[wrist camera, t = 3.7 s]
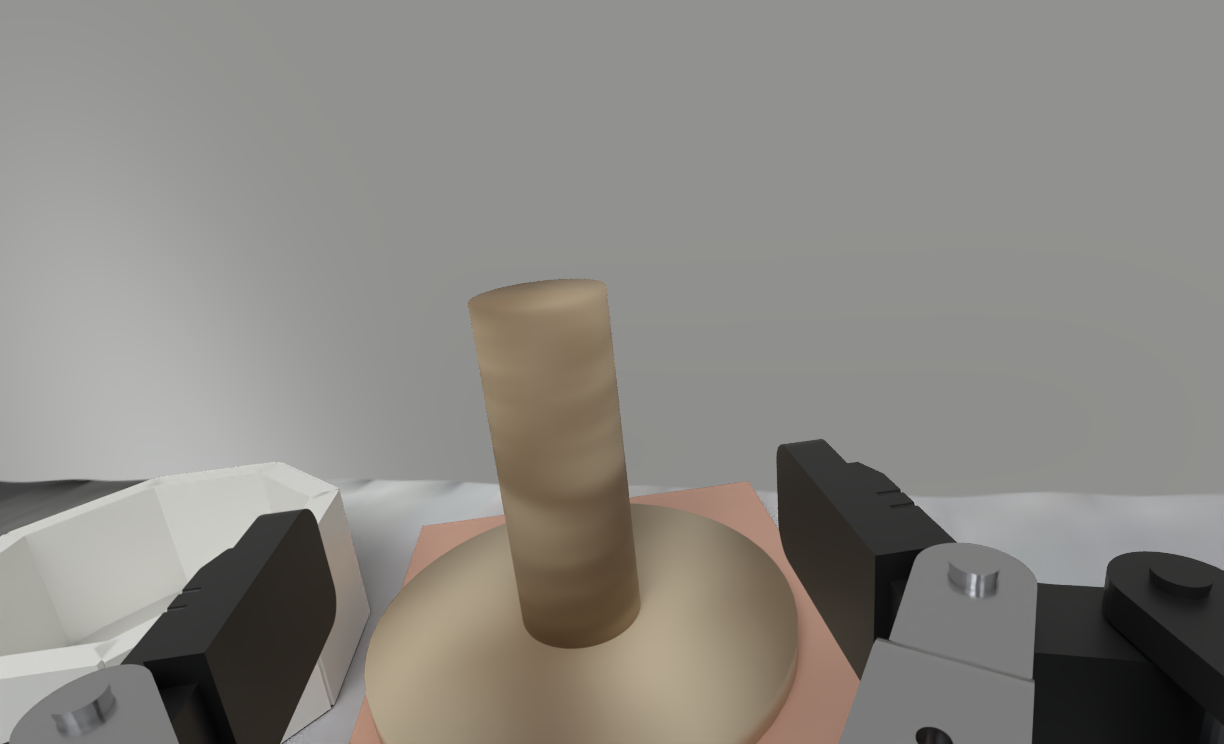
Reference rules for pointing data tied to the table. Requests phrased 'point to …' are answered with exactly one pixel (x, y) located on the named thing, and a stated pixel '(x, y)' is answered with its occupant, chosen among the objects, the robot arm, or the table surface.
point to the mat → (823, 672)
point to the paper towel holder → (578, 574)
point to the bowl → (154, 577)
